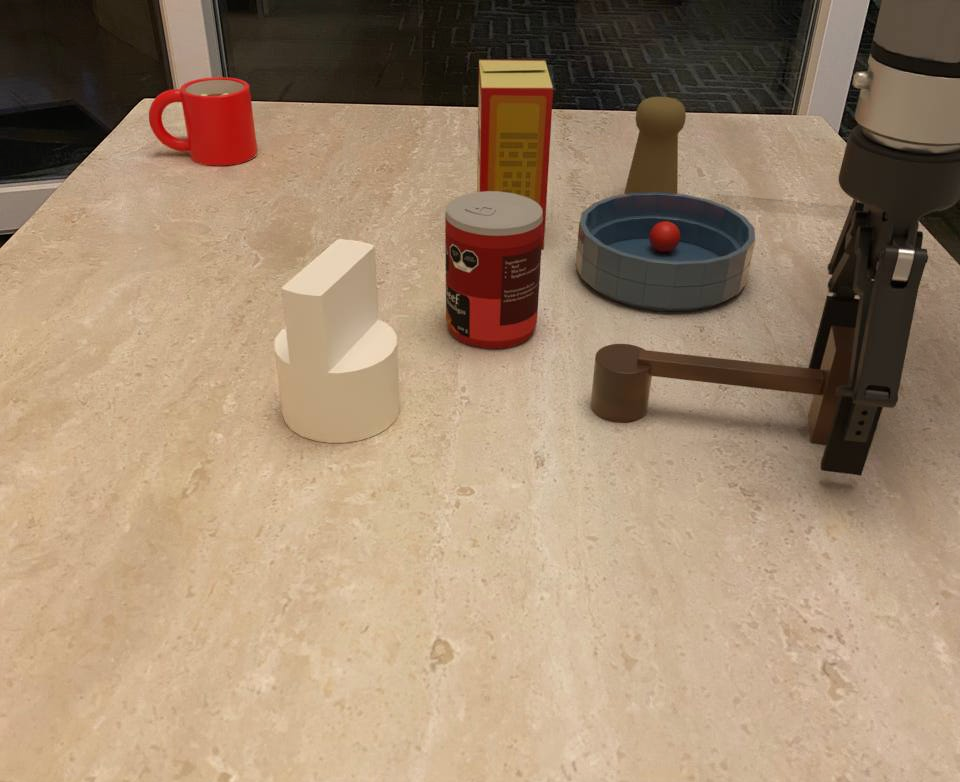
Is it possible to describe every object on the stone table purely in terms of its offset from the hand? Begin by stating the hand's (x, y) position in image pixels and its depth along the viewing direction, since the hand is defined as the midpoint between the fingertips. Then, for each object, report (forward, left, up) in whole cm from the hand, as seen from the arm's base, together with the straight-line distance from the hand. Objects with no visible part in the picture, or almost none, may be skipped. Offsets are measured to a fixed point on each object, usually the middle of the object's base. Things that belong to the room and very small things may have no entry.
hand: (832, 418), depth 75 cm
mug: (+69, -44, -1) cm, 82 cm away
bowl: (+14, -24, -1) cm, 28 cm away
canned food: (+28, -10, -1) cm, 30 cm away
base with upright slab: (+37, +5, -1) cm, 37 cm away
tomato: (+14, -28, +1) cm, 31 cm away
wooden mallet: (+8, 0, -1) cm, 8 cm away
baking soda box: (+30, -31, -1) cm, 43 cm away
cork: (+16, -42, -1) cm, 45 cm away
